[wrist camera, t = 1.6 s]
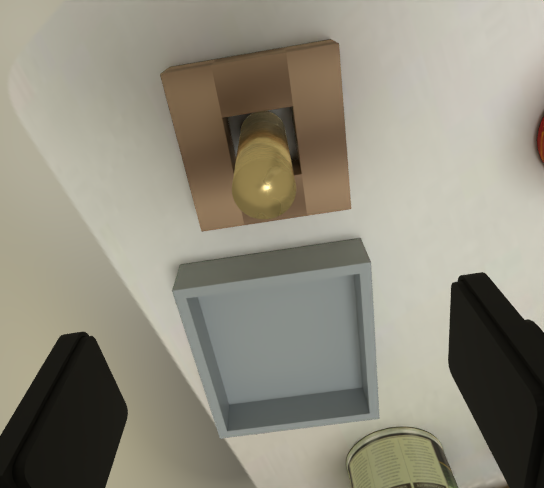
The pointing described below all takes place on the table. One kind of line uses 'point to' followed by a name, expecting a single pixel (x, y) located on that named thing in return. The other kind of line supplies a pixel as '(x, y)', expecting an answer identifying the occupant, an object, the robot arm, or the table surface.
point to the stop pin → (263, 168)
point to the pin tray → (283, 337)
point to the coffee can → (399, 461)
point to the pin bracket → (255, 98)
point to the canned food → (541, 140)
